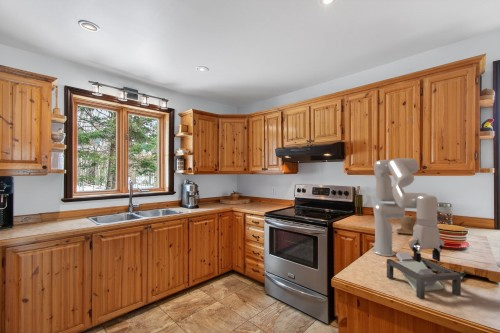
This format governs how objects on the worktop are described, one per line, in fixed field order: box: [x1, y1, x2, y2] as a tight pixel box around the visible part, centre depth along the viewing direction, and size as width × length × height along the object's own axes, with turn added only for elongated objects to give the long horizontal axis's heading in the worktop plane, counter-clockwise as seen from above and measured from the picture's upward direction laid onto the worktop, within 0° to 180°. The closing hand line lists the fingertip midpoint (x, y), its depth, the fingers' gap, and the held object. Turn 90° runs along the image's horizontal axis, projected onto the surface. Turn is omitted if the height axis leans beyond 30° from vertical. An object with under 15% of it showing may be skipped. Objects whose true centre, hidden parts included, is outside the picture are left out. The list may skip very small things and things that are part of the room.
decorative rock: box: [429, 267, 467, 280], centre depth 122 cm, size 19×6×15 cm
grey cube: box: [418, 268, 436, 286], centre depth 106 cm, size 5×5×5 cm
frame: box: [386, 256, 462, 300], centre depth 109 cm, size 20×20×9 cm
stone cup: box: [396, 215, 416, 235], centre depth 194 cm, size 15×12×15 cm
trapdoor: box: [395, 251, 445, 293], centre depth 112 cm, size 19×14×2 cm
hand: (426, 260), depth 106 cm, fingers open, 9 cm apart
